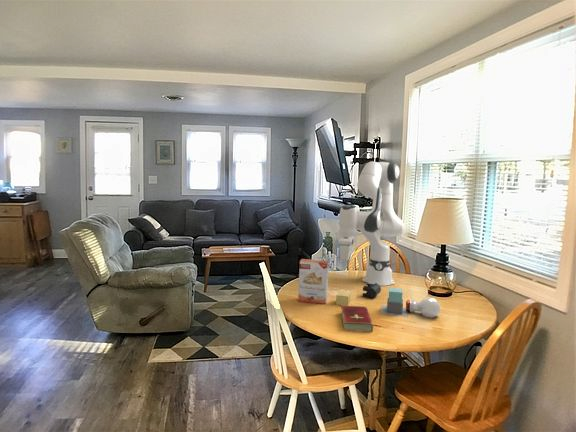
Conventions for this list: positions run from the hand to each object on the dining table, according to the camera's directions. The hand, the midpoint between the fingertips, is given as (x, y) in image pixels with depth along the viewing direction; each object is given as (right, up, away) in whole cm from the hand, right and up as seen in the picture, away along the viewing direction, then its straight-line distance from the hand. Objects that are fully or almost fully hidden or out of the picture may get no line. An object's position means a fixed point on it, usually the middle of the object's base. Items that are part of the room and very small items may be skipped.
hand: (345, 266), depth 202 cm
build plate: (+22, -21, -9) cm, 31 cm away
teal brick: (+22, -15, -9) cm, 28 cm away
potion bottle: (+34, -22, -12) cm, 42 cm away
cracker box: (-16, -19, +5) cm, 25 cm away
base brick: (+22, -20, -9) cm, 31 cm away
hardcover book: (+1, -23, -21) cm, 31 cm away
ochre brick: (-1, -19, +3) cm, 19 cm away
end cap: (+15, -19, +14) cm, 28 cm away
